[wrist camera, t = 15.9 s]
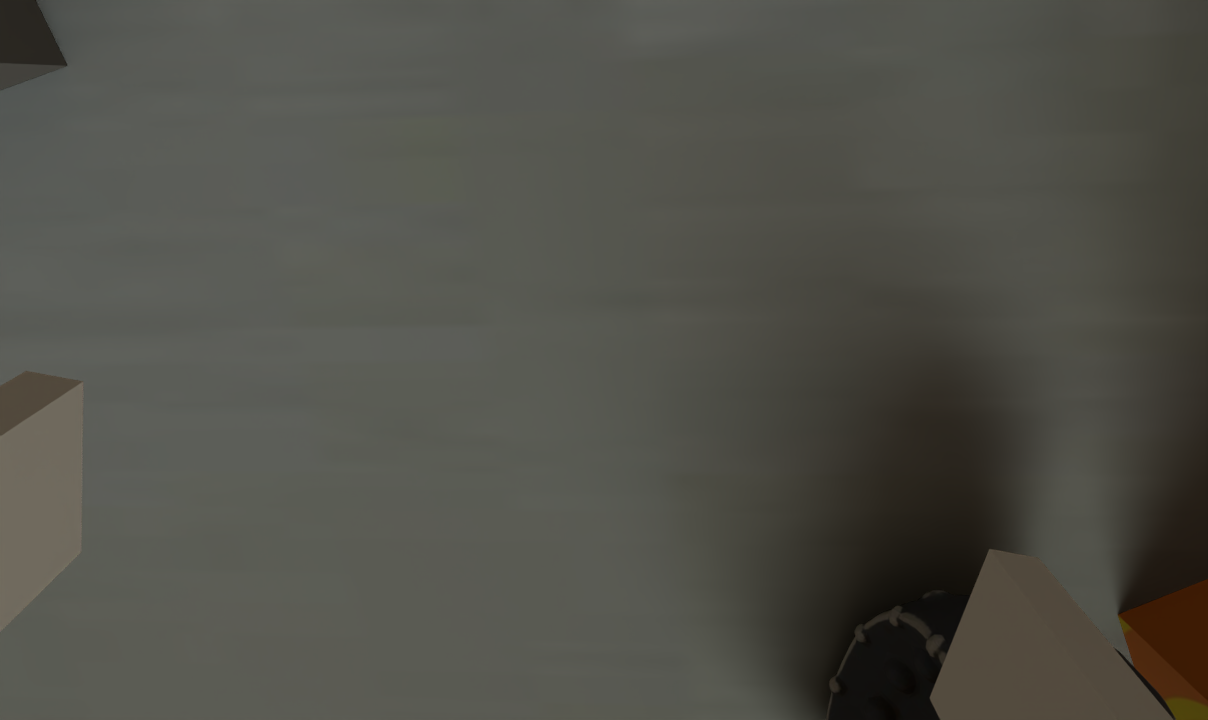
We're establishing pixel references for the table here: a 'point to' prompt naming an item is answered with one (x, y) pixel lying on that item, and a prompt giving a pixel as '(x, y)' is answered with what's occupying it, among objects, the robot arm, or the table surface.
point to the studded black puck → (904, 662)
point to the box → (1173, 648)
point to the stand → (25, 43)
